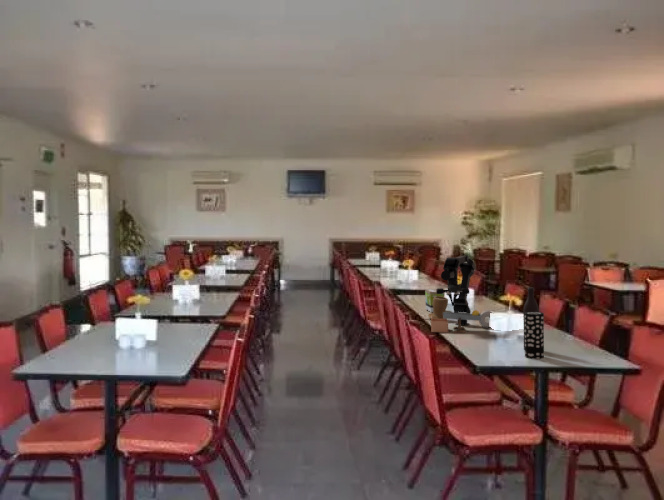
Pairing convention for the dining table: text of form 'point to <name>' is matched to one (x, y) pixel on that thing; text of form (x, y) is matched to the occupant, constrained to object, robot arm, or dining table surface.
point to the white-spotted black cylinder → (534, 335)
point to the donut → (482, 322)
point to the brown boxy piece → (439, 325)
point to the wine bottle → (530, 306)
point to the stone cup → (438, 307)
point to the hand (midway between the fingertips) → (452, 305)
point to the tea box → (431, 298)
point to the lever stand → (459, 327)
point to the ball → (475, 313)
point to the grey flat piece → (461, 316)
